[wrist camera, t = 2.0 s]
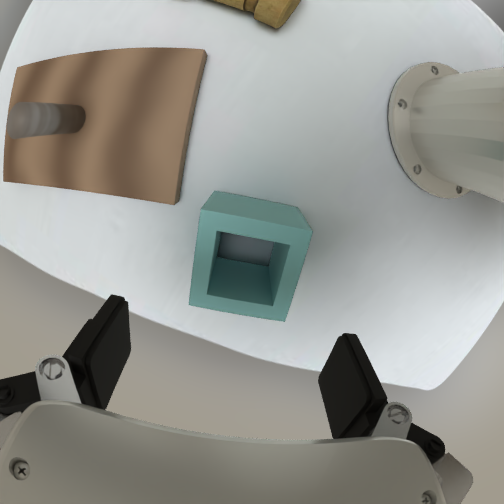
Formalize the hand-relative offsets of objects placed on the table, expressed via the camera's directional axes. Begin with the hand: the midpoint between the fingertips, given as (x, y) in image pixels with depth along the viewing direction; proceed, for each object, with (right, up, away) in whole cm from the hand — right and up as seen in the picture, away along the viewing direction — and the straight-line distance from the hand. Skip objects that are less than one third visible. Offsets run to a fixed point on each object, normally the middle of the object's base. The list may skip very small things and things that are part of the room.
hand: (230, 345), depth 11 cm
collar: (+1, +5, +11) cm, 12 cm away
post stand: (-13, +15, +7) cm, 22 cm away
